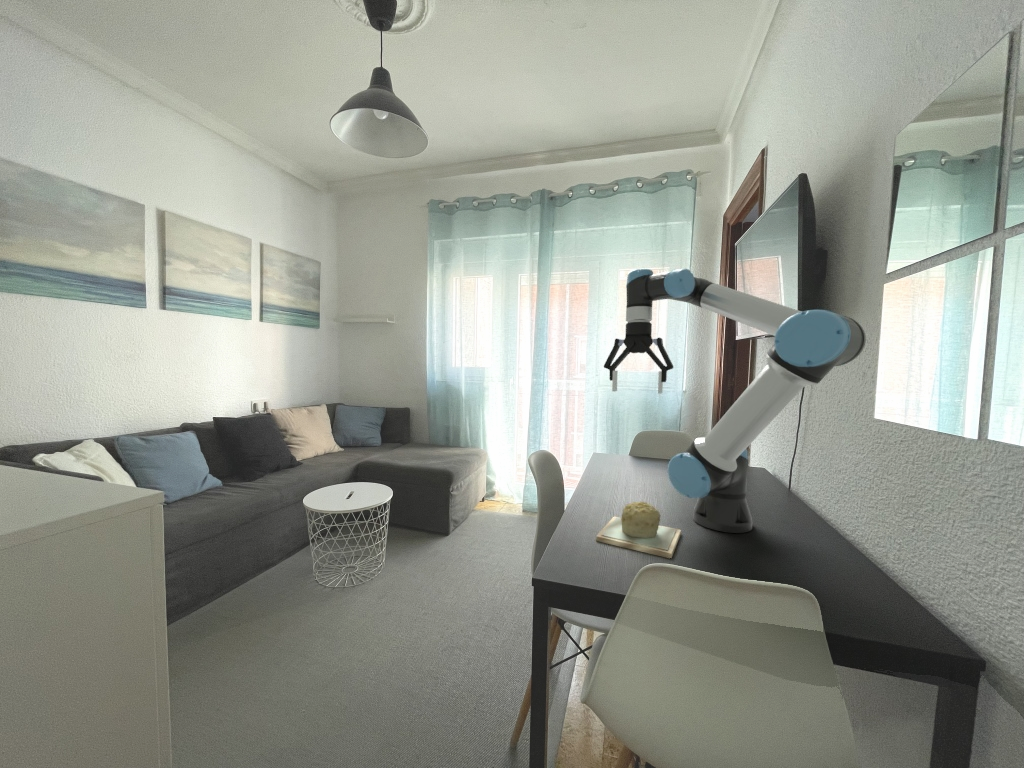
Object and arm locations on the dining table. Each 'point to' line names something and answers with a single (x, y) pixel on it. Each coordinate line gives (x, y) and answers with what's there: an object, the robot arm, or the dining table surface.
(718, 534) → the dining table surface
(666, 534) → the board
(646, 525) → the decorative item
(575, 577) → the dining table surface
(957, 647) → the dining table surface
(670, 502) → the dining table surface
